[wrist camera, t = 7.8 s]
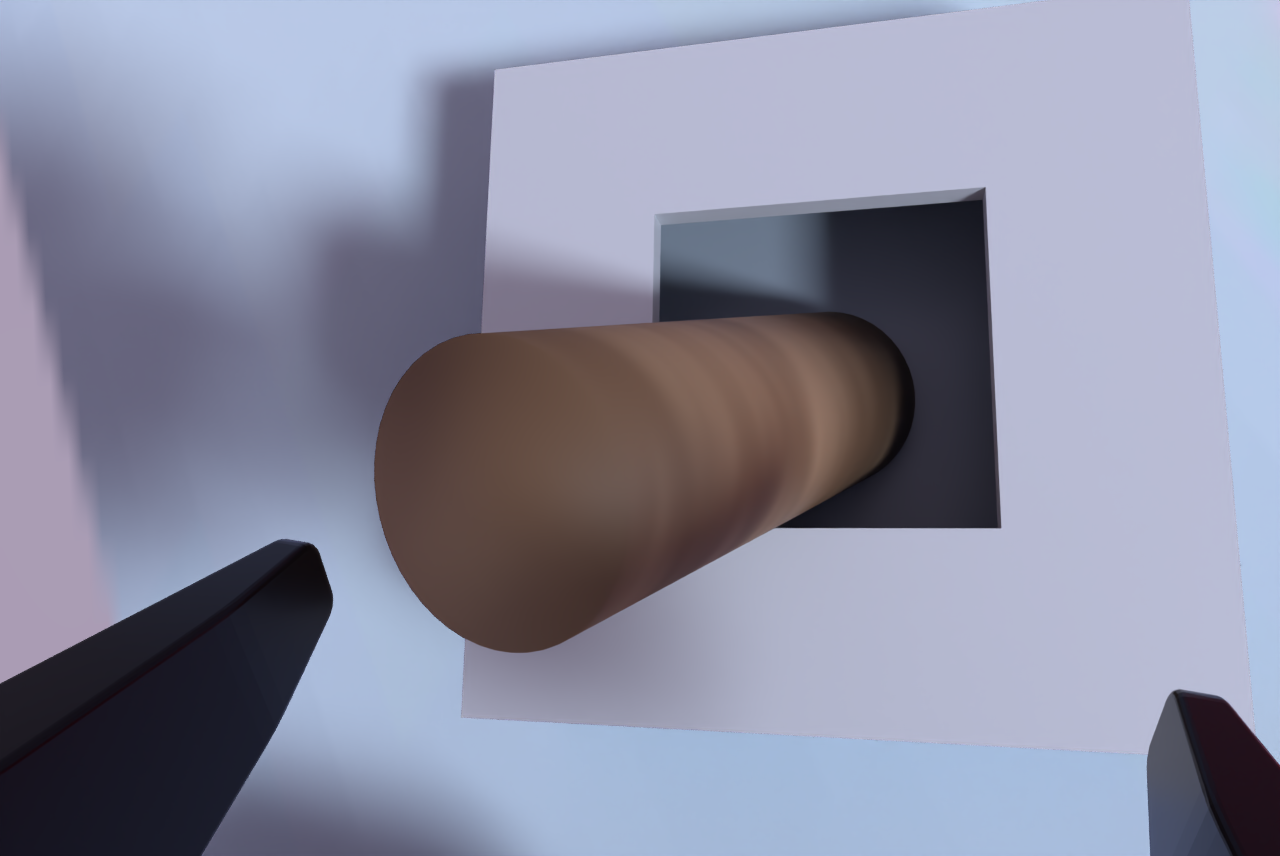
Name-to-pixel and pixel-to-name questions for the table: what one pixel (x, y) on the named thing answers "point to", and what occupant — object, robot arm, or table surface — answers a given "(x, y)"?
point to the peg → (620, 459)
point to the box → (937, 358)
